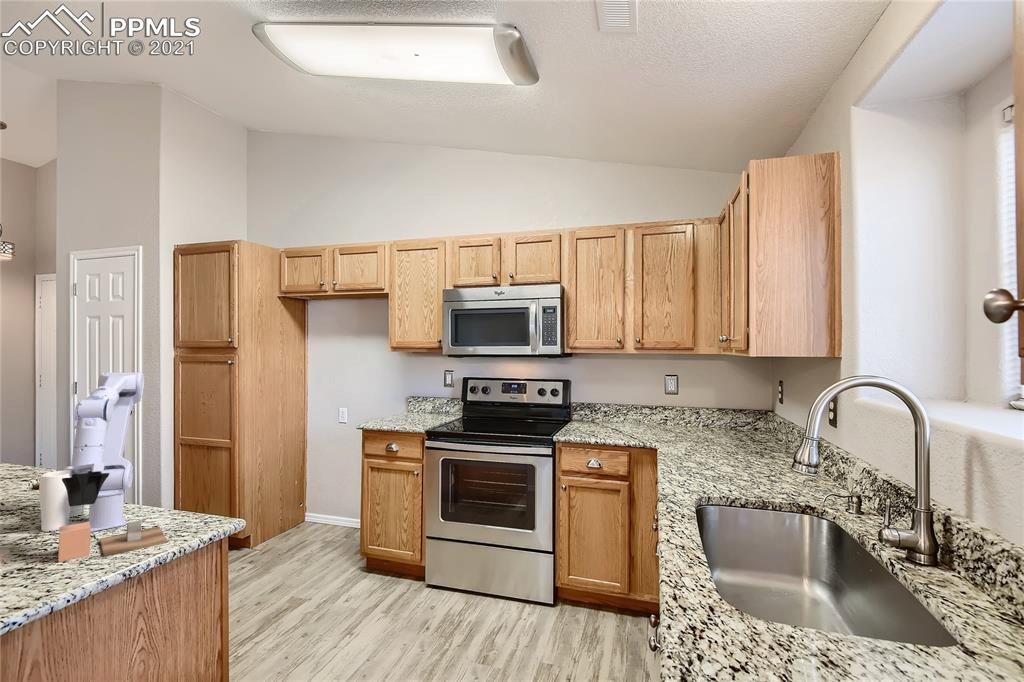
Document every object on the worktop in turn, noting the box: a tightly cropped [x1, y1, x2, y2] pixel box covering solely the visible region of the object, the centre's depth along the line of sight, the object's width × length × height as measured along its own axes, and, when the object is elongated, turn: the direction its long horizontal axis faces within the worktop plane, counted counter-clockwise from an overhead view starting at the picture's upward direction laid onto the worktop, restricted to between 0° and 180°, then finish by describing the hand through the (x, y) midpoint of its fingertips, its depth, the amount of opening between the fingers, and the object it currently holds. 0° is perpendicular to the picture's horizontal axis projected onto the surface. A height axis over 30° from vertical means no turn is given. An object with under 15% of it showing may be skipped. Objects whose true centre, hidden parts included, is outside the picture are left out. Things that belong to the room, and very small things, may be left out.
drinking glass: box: [38, 470, 71, 533], centre depth 124 cm, size 7×7×15 cm
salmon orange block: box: [57, 521, 91, 563], centre depth 108 cm, size 5×5×7 cm
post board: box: [99, 520, 168, 558], centre depth 116 cm, size 12×12×5 cm
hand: (81, 505), depth 109 cm, fingers open, 7 cm apart
